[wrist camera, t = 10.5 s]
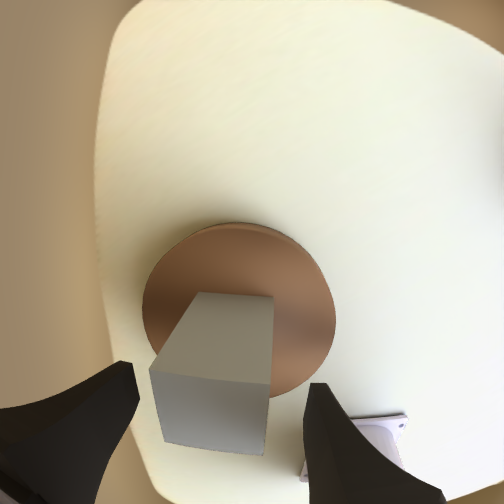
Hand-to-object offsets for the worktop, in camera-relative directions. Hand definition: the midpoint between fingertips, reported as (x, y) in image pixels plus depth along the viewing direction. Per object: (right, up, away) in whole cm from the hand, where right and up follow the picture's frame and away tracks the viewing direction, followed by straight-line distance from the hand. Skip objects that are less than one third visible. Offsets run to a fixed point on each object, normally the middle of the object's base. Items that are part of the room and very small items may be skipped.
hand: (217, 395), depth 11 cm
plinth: (+1, +2, +7) cm, 8 cm away
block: (0, +2, +5) cm, 6 cm away
